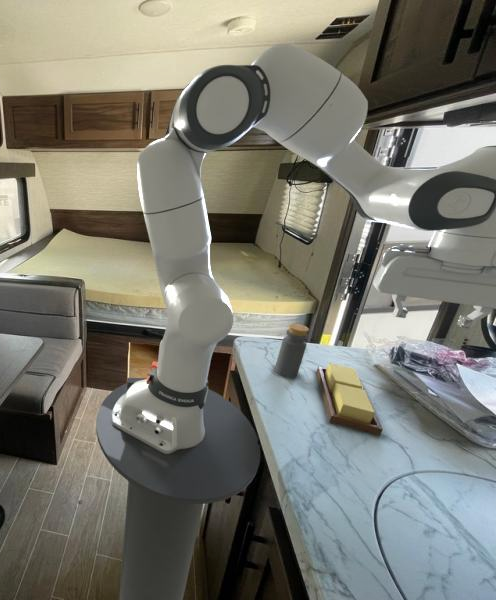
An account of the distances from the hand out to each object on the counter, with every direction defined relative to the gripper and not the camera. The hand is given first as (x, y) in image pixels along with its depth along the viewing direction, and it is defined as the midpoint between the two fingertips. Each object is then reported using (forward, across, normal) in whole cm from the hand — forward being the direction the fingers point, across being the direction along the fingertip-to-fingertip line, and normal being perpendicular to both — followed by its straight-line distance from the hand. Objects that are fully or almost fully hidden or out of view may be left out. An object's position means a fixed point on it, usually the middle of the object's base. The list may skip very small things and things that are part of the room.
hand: (430, 321), depth 61 cm
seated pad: (+28, -4, +17) cm, 34 cm away
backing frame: (+29, -4, +12) cm, 32 cm away
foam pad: (+28, -4, +7) cm, 30 cm away
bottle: (+29, -17, +19) cm, 39 cm away
